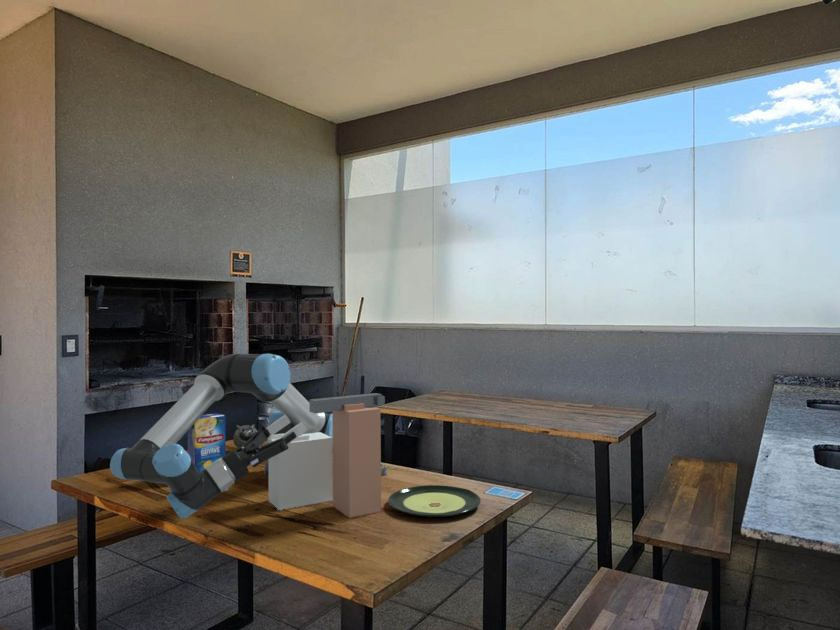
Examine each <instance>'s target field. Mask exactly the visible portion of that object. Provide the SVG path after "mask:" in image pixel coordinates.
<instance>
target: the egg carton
mask: <svg viewBox="0 0 840 630" xmlns="http://www.w3.org/2000/svg"><path fill="white" fill-rule="evenodd" d="M388 469H390V466H386V465H382V463H381V476H388Z"/></svg>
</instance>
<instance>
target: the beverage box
mask: <svg viewBox="0 0 840 630" xmlns="http://www.w3.org/2000/svg"><path fill="white" fill-rule="evenodd" d="M226 445H227V444H226V415H225V414H222V413H221V414H220V413H217V412H216V413H208V414H202V415H201V416H200V418H199V419H198V420H197V421H196V422H195V423H194V424H193V425H192V426H191V428H190V429H189V430H188V431H187V453H188V454H189V456H190V458H191V460H192V461H193V463H194V465H195V466H196V468H197V469H198V471H199V472H201V471H203V470H204V469H206V468H207V467H208V466H210V465H211V464H213V463H214V462H215V461H217V460H220V461H221V460H222V457H223V456H224V455H226V454H227V453H226Z"/></svg>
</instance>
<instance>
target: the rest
mask: <svg viewBox="0 0 840 630" xmlns="http://www.w3.org/2000/svg"><path fill="white" fill-rule="evenodd" d="M284 434H285V433H284ZM284 434H275V435H272V436H271V435H270V438H269V437H268V438H267V440H268V441H267V444H268V443H271V442H273V441H275V440H278V439H280V438H282V437H281V436H282V435H284ZM287 446H288V447H289V448H288V449H287V450H285V451H283V452H281V453H279V454H277V455H275V456H274V457H272V458H270V459H268V469H269V477H268V502H269V504H271V503H272V504H273V505H274V506H275V507H276V508H277V509H276V508H275V507H274V508H275V509H276V510H277V511H279V510H280V511H284V510H283V509H285V510H288V509H289V508H290V509H295V508H294V507H296V508H300V506H301V507H305V506H306V507H307V506H312V505H315V504H321V503H327V502H333V446H332V437H330V436H328V435H325V434H323V433H321V432H317V433H309V434H302V435H300V436H299V437H298V438H296V439H295V440H293V441H292V442H291V443H289V444H288V445H287ZM272 504H271V505H272ZM273 505H272V506H273ZM290 509H289V510H290Z"/></svg>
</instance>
